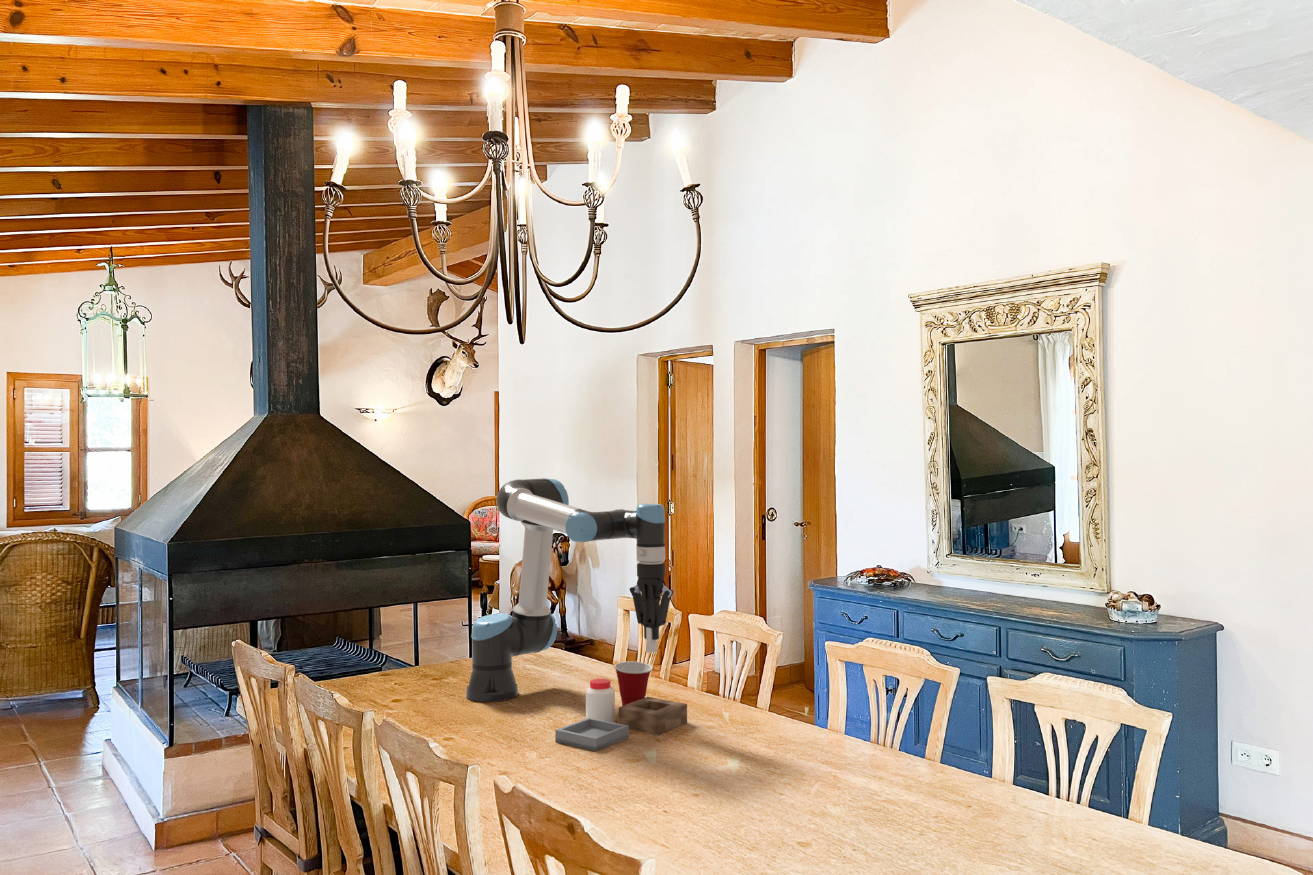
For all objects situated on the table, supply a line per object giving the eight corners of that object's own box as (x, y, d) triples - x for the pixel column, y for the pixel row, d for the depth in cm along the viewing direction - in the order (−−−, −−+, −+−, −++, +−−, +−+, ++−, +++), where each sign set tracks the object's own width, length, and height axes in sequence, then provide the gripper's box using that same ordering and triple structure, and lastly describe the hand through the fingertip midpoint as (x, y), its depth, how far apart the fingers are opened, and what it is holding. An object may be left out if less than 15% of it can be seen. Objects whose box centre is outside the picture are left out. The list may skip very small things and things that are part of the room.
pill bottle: (616, 718, 250) (616, 677, 250) (612, 726, 242) (612, 684, 242) (588, 717, 251) (588, 677, 251) (583, 726, 243) (583, 684, 243)
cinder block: (618, 726, 242) (618, 707, 242) (647, 714, 253) (647, 696, 253) (658, 734, 235) (658, 715, 235) (687, 722, 245) (687, 703, 245)
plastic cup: (634, 715, 252) (634, 671, 252) (606, 708, 259) (606, 665, 260) (660, 707, 260) (660, 664, 261) (632, 700, 268) (632, 659, 268)
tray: (555, 741, 230) (555, 729, 230) (589, 728, 240) (589, 717, 240) (595, 751, 222) (595, 738, 222) (628, 737, 233) (628, 725, 233)
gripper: (622, 562, 245) (623, 651, 245) (662, 565, 238) (663, 657, 237) (639, 559, 251) (640, 646, 251) (679, 562, 244) (680, 652, 243)
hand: (651, 651), depth 244 cm, fingers closed
